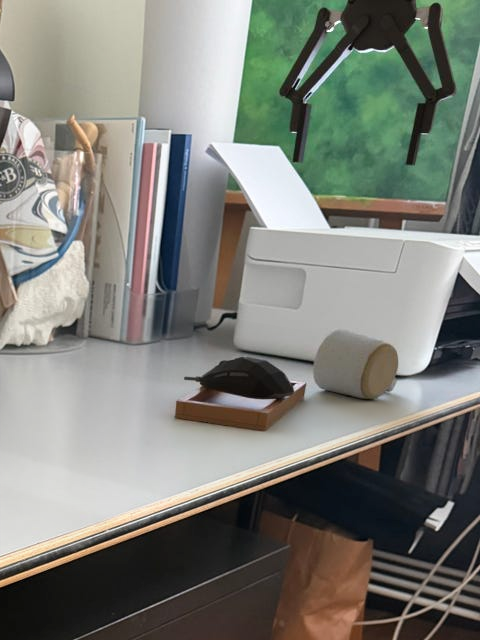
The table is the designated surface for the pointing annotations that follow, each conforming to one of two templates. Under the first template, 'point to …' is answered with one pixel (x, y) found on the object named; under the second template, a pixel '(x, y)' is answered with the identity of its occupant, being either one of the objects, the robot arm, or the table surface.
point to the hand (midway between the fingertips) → (352, 164)
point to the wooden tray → (236, 408)
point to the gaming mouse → (247, 379)
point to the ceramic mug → (355, 365)
